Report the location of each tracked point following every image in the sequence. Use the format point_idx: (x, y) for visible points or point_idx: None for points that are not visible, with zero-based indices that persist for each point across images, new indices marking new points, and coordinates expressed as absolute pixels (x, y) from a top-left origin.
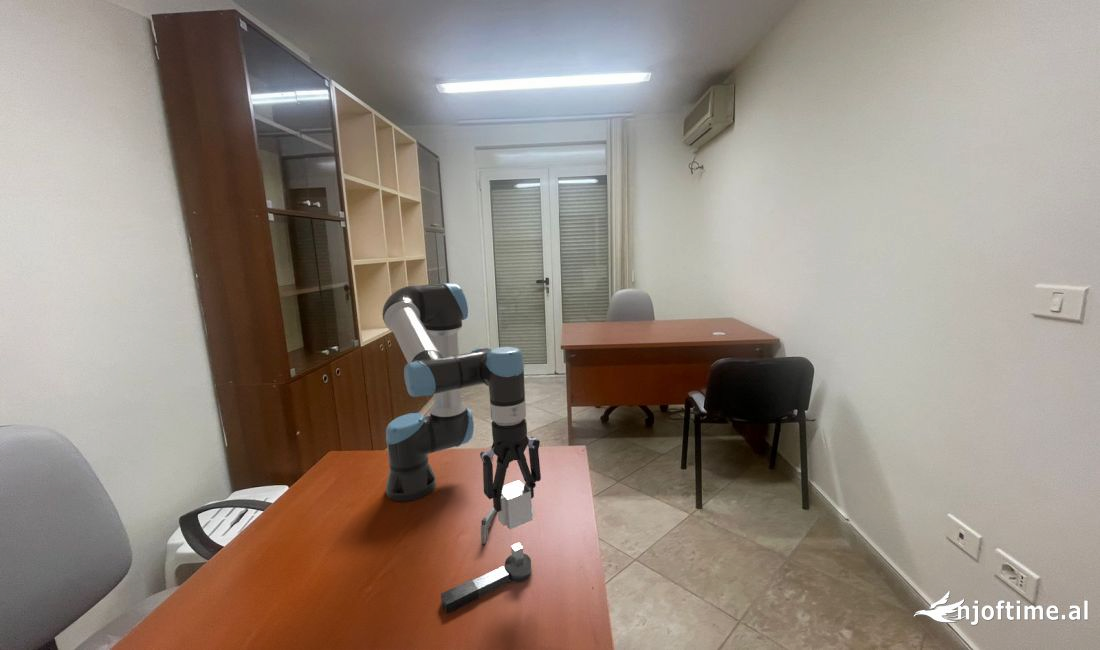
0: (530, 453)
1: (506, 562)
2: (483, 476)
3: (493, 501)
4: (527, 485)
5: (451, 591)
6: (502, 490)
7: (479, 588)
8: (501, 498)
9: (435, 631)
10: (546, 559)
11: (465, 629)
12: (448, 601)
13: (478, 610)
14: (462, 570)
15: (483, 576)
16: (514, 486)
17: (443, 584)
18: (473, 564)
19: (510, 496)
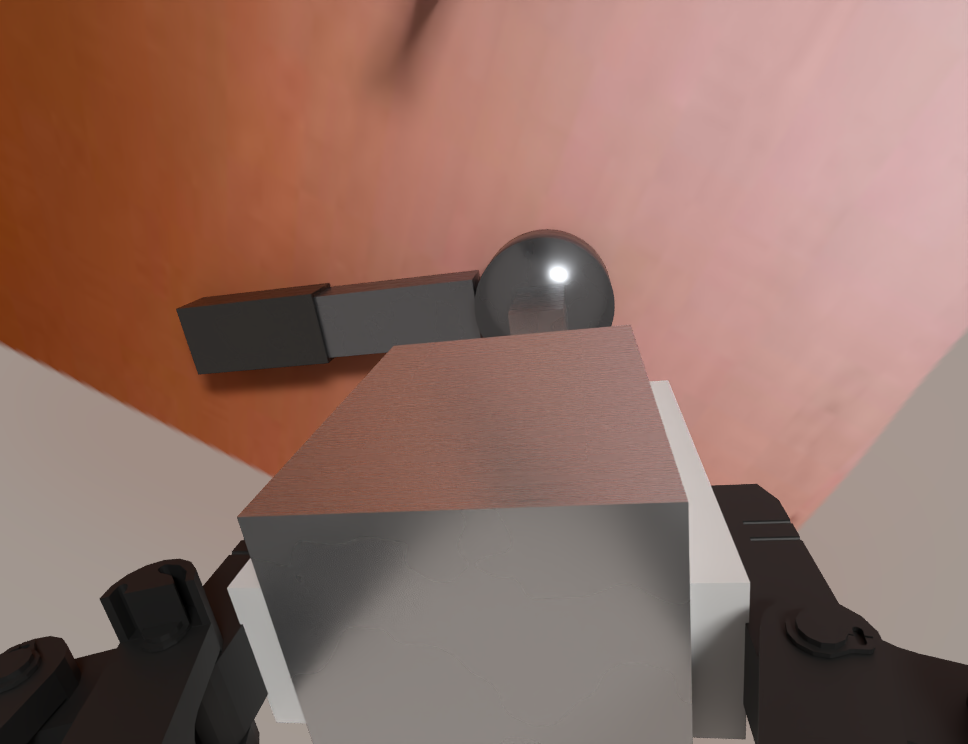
0: None
1: (488, 281)
2: None
3: (219, 577)
4: (745, 671)
5: (218, 320)
6: (312, 617)
7: (337, 356)
8: (275, 719)
9: (187, 405)
10: (710, 283)
11: (284, 446)
12: (207, 364)
13: (336, 398)
14: (294, 149)
15: (364, 299)
16: (524, 624)
17: (207, 198)
18: (352, 132)
19: None
